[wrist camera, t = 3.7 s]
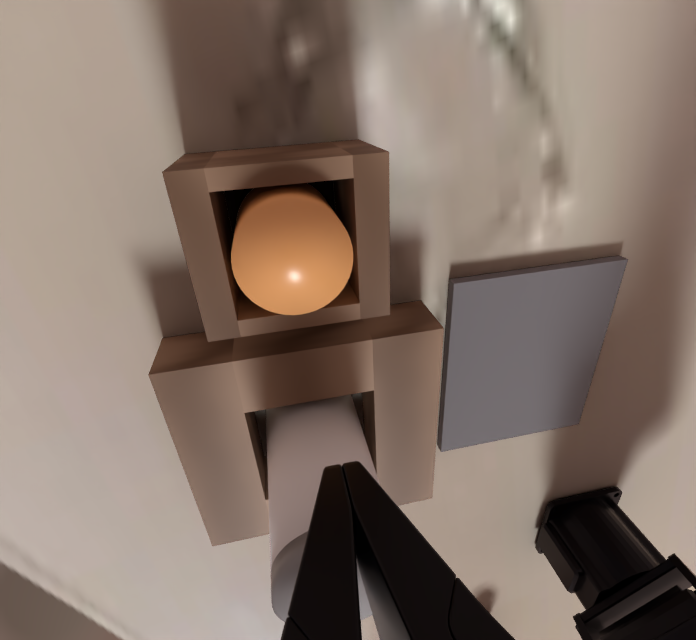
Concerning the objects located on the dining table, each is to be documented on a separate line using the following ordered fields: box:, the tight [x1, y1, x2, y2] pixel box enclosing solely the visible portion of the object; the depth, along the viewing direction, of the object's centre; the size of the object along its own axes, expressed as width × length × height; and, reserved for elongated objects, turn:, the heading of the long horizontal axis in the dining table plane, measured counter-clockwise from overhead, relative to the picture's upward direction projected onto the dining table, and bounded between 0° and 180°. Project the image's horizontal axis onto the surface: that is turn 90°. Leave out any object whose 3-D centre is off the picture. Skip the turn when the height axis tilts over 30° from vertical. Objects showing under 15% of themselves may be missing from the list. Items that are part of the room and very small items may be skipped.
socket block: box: [149, 140, 444, 546], centre depth 19 cm, size 13×20×4 cm, turn 2°
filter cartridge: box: [266, 394, 380, 622], centre depth 19 cm, size 5×5×10 cm
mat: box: [437, 256, 628, 452], centre depth 24 cm, size 10×12×1 cm
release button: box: [231, 183, 353, 315], centre depth 15 cm, size 4×4×4 cm
